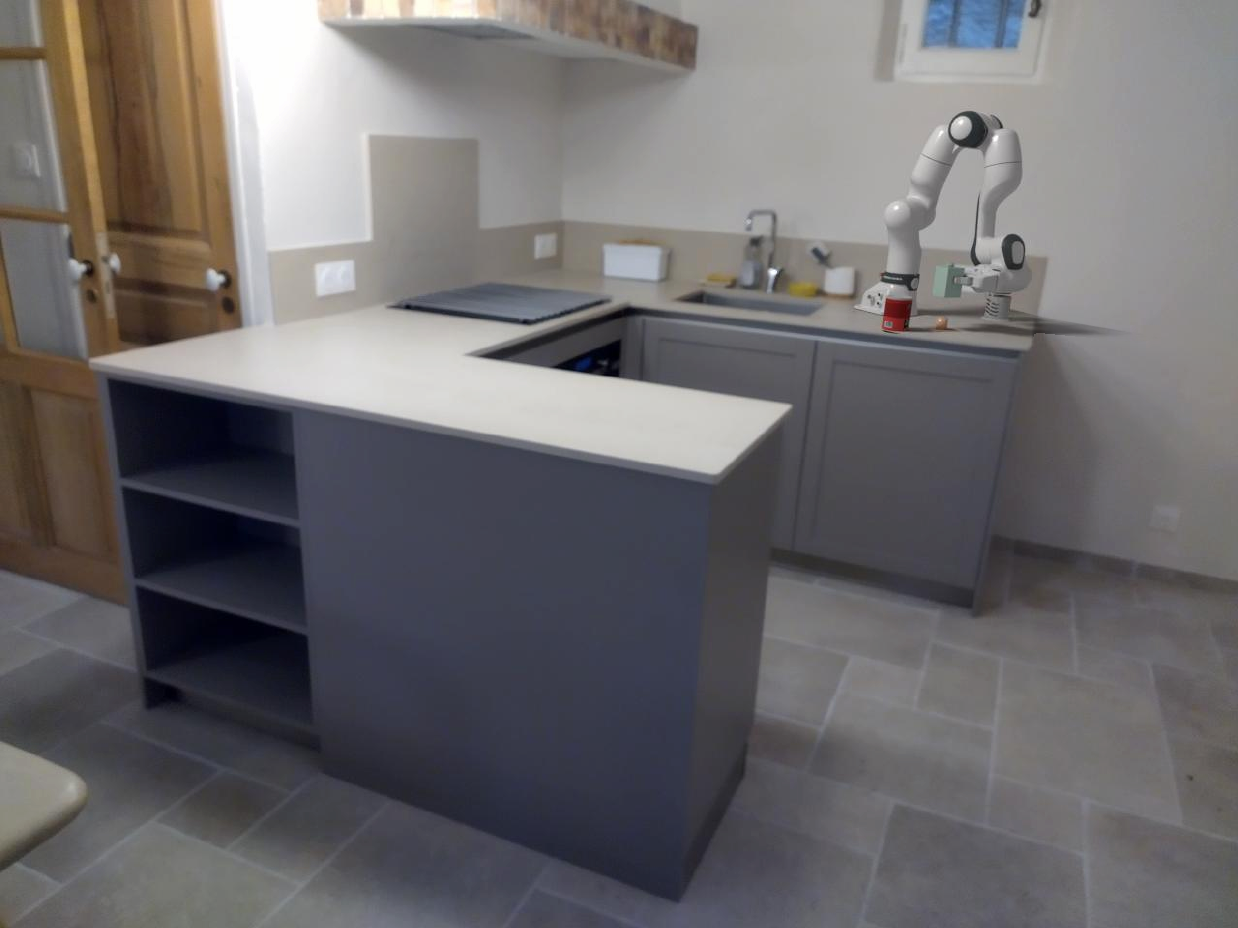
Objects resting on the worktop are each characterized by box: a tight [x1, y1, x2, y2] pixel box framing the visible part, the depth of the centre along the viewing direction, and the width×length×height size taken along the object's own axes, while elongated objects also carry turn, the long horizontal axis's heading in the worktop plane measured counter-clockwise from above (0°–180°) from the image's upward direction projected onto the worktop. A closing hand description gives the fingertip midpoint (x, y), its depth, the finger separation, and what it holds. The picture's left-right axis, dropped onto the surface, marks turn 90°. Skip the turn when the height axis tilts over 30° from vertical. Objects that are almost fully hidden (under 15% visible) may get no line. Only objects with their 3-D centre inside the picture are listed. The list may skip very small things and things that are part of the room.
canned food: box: [881, 295, 913, 335], centre depth 282 cm, size 8×8×11 cm
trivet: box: [922, 325, 963, 333], centre depth 287 cm, size 9×9×1 cm
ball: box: [935, 316, 949, 330], centre depth 287 cm, size 3×3×4 cm
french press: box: [980, 292, 1013, 323], centre depth 312 cm, size 10×12×25 cm
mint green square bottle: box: [932, 262, 966, 299], centre depth 282 cm, size 6×6×10 cm
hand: (946, 278), depth 282 cm, fingers closed on mint green square bottle, 6 cm apart
